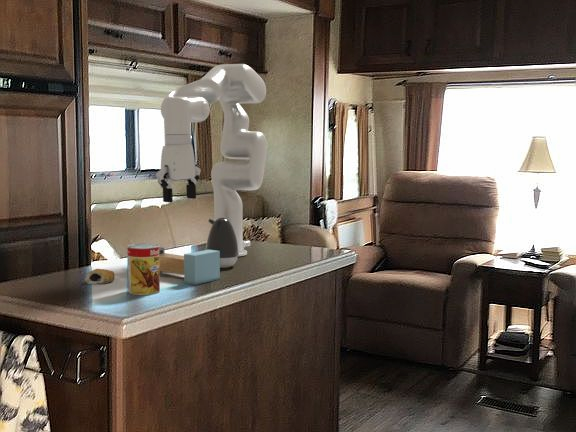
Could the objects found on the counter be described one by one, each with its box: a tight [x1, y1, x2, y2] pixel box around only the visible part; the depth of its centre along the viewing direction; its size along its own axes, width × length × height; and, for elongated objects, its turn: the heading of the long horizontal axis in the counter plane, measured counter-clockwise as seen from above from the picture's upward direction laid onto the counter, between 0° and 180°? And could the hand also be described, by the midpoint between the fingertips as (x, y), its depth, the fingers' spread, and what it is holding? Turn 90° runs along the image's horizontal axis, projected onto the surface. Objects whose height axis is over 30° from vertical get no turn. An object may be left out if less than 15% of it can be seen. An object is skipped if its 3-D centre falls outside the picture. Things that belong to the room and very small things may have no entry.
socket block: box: [183, 249, 221, 286], centre depth 193 cm, size 10×4×8 cm, turn 144°
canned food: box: [127, 242, 161, 296], centre depth 179 cm, size 8×8×12 cm
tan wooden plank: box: [159, 252, 184, 276], centre depth 199 cm, size 5×20×5 cm, turn 54°
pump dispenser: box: [205, 218, 239, 269], centre depth 215 cm, size 10×10×15 cm
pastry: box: [84, 268, 116, 285], centre depth 193 cm, size 9×7×4 cm
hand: (179, 200), depth 202 cm, fingers open, 9 cm apart
